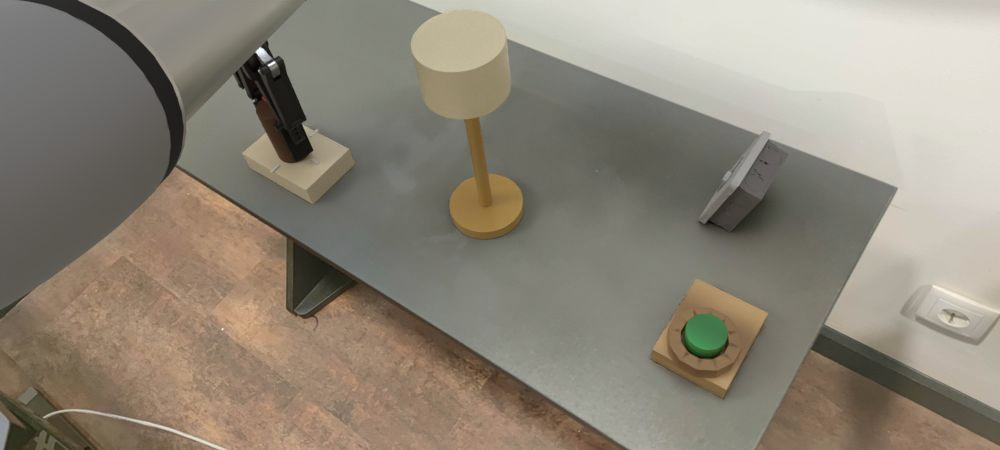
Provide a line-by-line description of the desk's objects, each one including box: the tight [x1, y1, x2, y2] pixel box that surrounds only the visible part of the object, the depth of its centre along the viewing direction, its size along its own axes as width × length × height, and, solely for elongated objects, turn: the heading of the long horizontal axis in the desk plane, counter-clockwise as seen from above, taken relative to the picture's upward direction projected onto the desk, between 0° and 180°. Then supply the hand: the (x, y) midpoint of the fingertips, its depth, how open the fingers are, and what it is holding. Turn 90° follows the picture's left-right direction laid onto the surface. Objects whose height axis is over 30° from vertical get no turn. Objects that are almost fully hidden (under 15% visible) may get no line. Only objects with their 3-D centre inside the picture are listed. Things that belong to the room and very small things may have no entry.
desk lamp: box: [410, 9, 525, 240], centre depth 75 cm, size 9×9×26 cm
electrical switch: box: [698, 130, 789, 233], centre depth 79 cm, size 9×5×9 cm, turn 145°
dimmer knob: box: [255, 96, 310, 163], centre depth 87 cm, size 4×4×8 cm
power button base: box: [650, 278, 769, 399], centre depth 71 cm, size 10×8×4 cm
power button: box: [684, 314, 728, 358], centre depth 68 cm, size 4×4×2 cm
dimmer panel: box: [241, 124, 356, 205], centre depth 92 cm, size 9×12×3 cm
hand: (292, 144), depth 90 cm, fingers closed on dimmer knob, 4 cm apart
